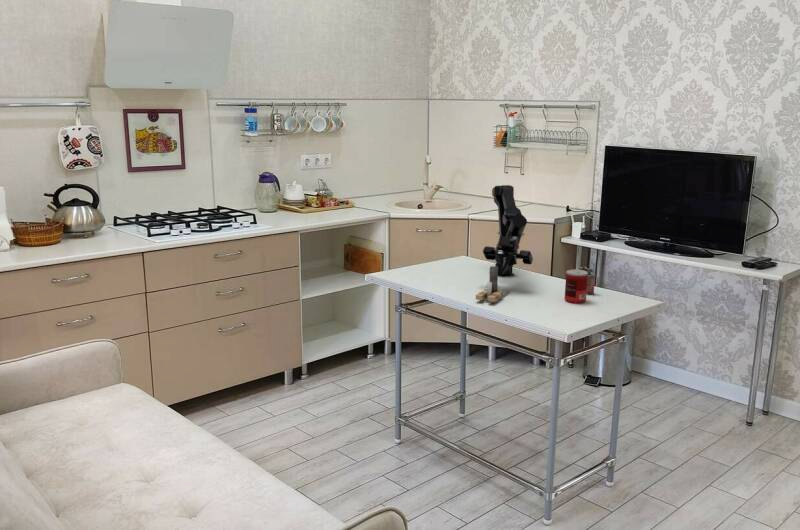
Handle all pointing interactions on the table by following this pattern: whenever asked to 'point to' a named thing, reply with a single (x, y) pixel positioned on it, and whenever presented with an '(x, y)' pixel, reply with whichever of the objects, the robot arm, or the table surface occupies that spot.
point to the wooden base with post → (494, 292)
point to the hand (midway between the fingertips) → (501, 273)
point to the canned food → (576, 286)
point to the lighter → (589, 280)
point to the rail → (489, 288)
